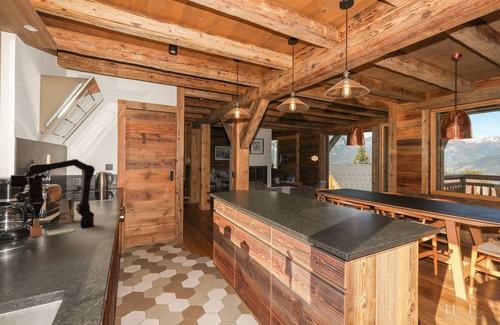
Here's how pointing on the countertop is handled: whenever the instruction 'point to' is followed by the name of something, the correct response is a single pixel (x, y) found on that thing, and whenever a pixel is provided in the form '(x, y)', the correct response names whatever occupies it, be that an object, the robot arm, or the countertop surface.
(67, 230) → the tray
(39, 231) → the orange open box
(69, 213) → the coffee box
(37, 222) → the pin
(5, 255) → the countertop surface
